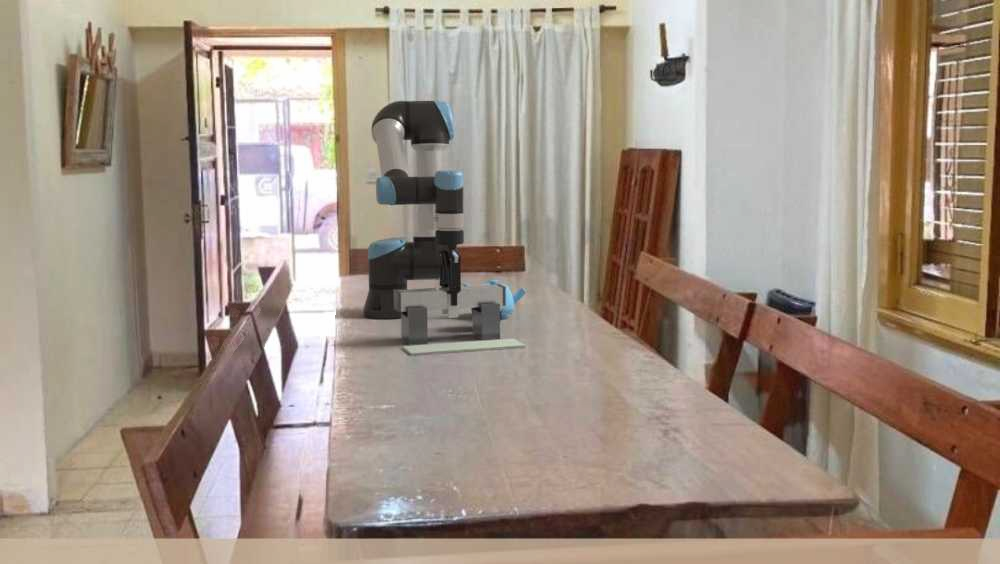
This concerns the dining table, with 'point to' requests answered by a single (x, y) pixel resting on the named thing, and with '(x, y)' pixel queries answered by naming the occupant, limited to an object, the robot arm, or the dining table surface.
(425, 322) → the post
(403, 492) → the dining table surface
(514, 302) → the teapot
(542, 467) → the dining table surface
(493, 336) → the post
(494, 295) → the rail
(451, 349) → the mat
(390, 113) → the robot arm
